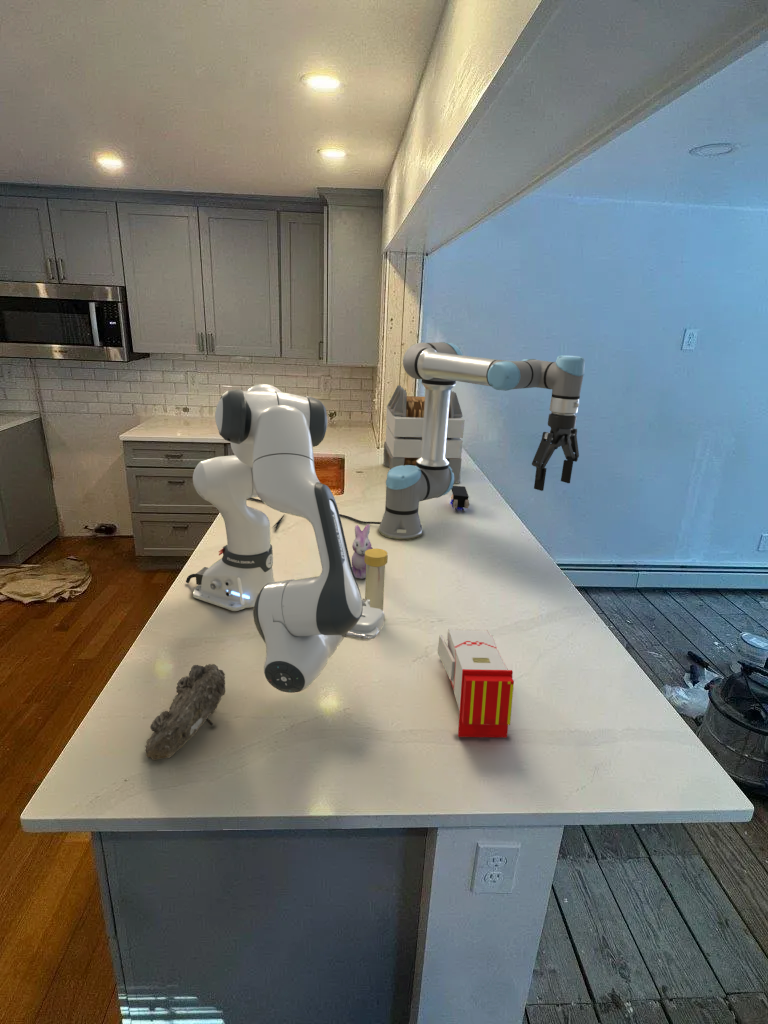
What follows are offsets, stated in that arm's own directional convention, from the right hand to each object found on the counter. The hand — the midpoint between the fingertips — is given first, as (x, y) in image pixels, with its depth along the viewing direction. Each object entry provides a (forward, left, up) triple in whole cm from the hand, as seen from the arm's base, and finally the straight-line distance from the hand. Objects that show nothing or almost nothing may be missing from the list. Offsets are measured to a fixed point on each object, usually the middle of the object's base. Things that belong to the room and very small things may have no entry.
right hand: (552, 485), depth 166 cm
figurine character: (-55, +24, -28) cm, 66 cm away
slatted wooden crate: (-101, +46, -28) cm, 115 cm away
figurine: (-31, -44, -28) cm, 61 cm away
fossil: (0, -110, -28) cm, 114 cm away
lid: (-9, -59, -10) cm, 60 cm away
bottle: (-9, -59, -28) cm, 66 cm away
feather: (-84, -40, -28) cm, 97 cm away
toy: (+26, -62, -28) cm, 72 cm away
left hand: (+3, -78, -11) cm, 78 cm away
